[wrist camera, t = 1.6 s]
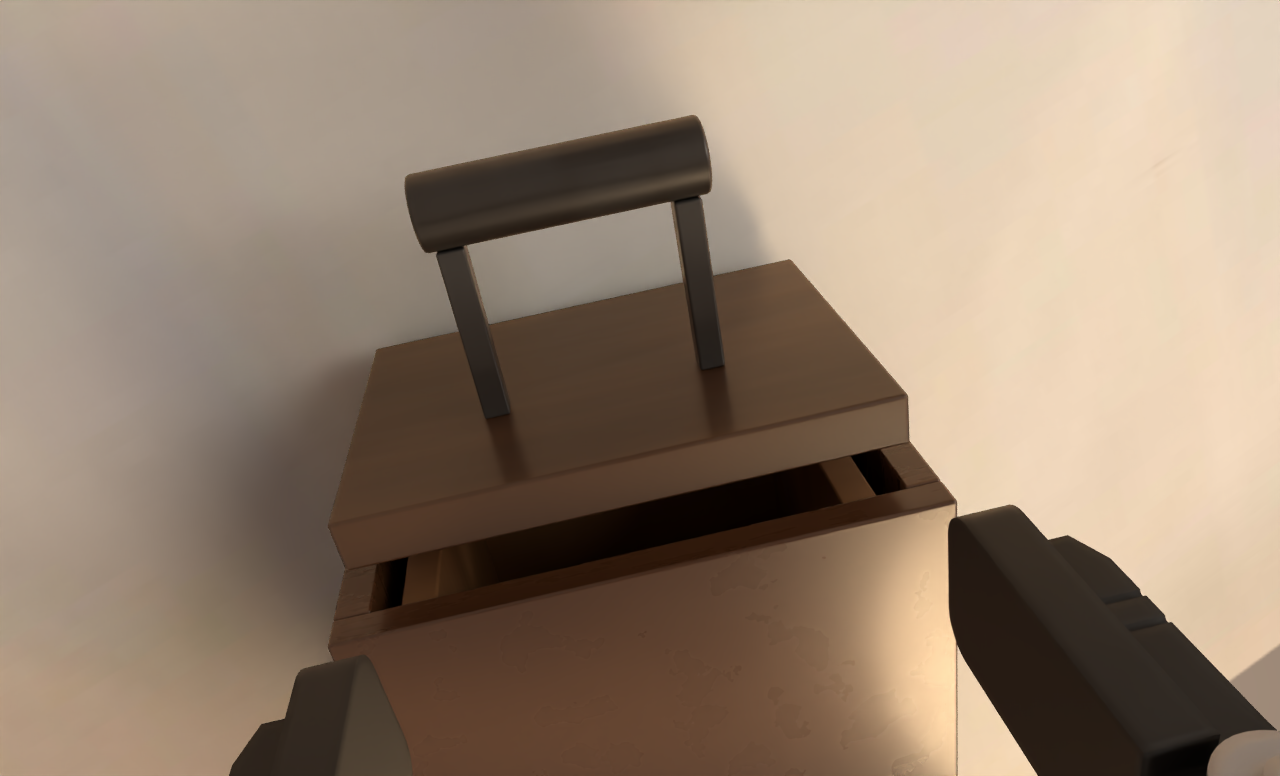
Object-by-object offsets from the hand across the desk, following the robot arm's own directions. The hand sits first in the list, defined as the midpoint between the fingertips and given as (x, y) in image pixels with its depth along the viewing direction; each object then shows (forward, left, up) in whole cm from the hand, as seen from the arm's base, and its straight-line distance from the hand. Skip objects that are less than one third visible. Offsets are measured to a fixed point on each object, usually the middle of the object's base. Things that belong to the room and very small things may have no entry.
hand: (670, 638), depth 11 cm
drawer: (+7, 0, -15) cm, 16 cm away
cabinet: (+12, 0, -16) cm, 20 cm away
